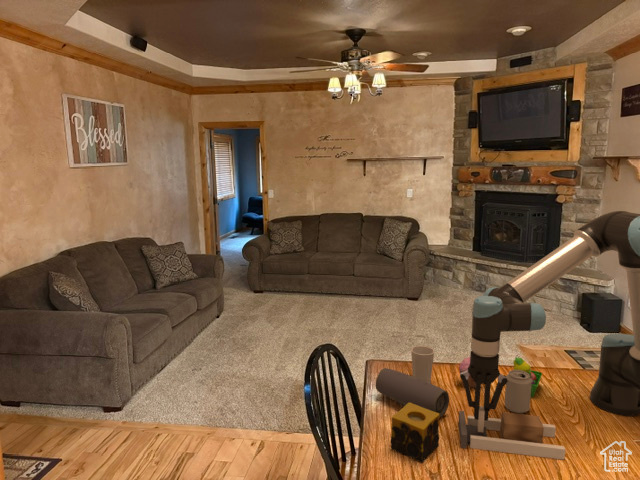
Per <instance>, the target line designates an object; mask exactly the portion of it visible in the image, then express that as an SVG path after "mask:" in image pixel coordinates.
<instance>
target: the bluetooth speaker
mask: <svg viewBox="0 0 640 480" xmlns="http://www.w3.org/2000/svg"><path fill="white" fill-rule="evenodd" d="M375 389H376V391H377V392H378V393H380V394H382V395H383V396H386V397H388V398H389V399H391V400H393V401H395V402H396V403H397V405H400V407H402V408H403V407H404V406H405V405H406V404H408V403H412V404H415V405H418V406H420V407H423V408H425V409H428V410H430V411H433V412H437V413H439V414H440V416H439V418H441V417H443V416H444V415H445V414H446V412H447V410H448V408H449V404H450V396H449V393H448V391H447V390H445V389H443V388H441V387H440V386H437V385H434V384H432V383H431V384H430V383H428V382H425V381H423V380H420V379H418V378H415V377H413V375H409V374H407V373H404V372H401V371H399V370H398V371H397V370H395V369H392V368H388V367H387V368H386V367H385V368H382V369H381V370H380V371H379V372H378V375H377V377H376V380H375Z"/></svg>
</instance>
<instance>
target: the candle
mask: <svg viewBox="0 0 640 480" xmlns="http://www.w3.org/2000/svg"><path fill="white" fill-rule="evenodd" d="M439 416H440V414H439V413H437V412H433V411H430V410H428V409H425V408H423V407H420V406H418V405H415V404H412V403H408V404H406V405H405V406H404V407H403V406H402V408H401V409H399V410H398V412H396V413H395V414H394V415H392V417H391V434H390V449H391V450H393V451H395V452H397V453H399V454H401V455H403V456H406V457H408V458H411V459H412V460H415V461H417V462H419V463H423V462H425V460H427V459H428V457H429V456H430V455H432V453H433V452H434V451H435V450H436V449H437V448H438V447H439V446H440V443H439V441H440V435H439V433H440V432H439V427H440V424H439V423H440V417H439Z"/></svg>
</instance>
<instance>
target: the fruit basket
mask: <svg viewBox="0 0 640 480" xmlns="http://www.w3.org/2000/svg"><path fill="white" fill-rule="evenodd" d="M512 364H513V370H521V371H524V372H527V373H528V374H529V375H530V378H531V380H532V384H531V397H530V398H534V396H535V394H536V391H537V388H538V386H539V383H540V382H541V378H542V376H543V373H542V372H541V371H537V370H532V368H531V365H530V364H529V363H528V362H527V361H526V360H524V359H523V358H522V357H520V356H519V357H517V356H516V357H515V359H514V360H513V363H512Z"/></svg>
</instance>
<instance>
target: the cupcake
mask: <svg viewBox="0 0 640 480" xmlns="http://www.w3.org/2000/svg"><path fill="white" fill-rule="evenodd" d="M469 365H470V356H467V357H464V358H463V360H462V361H460V363H459V366H458V370H459V371H458V372H459V373H460V372H461V371H463V372H465V371H467V370H468V367H469ZM461 381H462V380H461ZM468 383H469V388H473V389H475V381H474V380H473V379H472V377H471V376H470V374H469V379H468ZM462 385H463V386H464V383H463V381H462Z"/></svg>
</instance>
